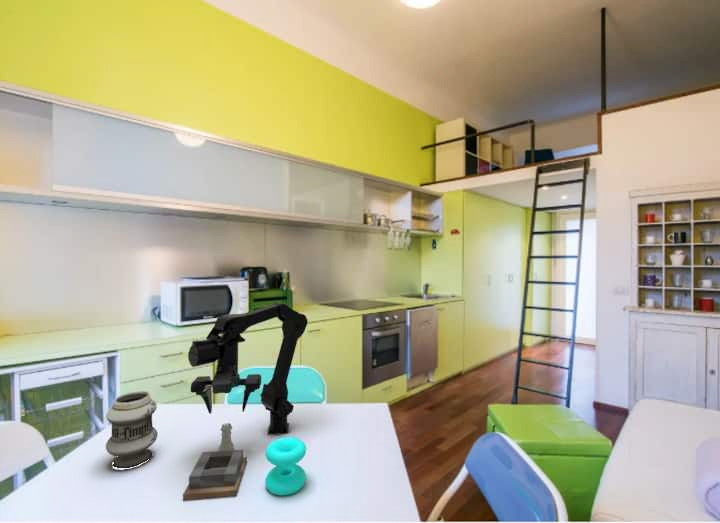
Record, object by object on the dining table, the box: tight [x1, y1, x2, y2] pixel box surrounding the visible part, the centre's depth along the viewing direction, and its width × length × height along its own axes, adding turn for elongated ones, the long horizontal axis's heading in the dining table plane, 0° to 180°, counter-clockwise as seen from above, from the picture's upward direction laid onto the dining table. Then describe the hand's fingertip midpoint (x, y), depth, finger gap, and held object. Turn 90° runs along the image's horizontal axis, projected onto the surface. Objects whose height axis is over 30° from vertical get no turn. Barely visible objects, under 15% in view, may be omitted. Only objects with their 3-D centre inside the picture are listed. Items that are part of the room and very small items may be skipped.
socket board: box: [182, 449, 248, 502], centre depth 88 cm, size 14×12×4 cm
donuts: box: [264, 436, 307, 496], centre depth 86 cm, size 10×10×10 cm
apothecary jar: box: [105, 390, 158, 468], centre depth 96 cm, size 12×12×18 cm
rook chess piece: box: [217, 422, 235, 451], centre depth 100 cm, size 4×4×8 cm
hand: (227, 412), depth 100 cm, fingers open, 9 cm apart
